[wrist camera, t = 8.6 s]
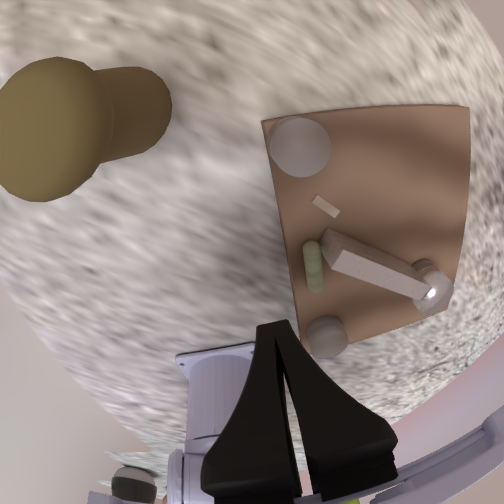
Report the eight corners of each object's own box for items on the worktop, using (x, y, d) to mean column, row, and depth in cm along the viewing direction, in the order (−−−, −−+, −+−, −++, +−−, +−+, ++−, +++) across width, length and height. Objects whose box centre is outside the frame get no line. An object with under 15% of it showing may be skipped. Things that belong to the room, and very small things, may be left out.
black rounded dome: (163, 478, 49) (162, 532, 36) (123, 473, 49) (119, 525, 35) (150, 466, 44) (147, 528, 31) (106, 460, 43) (99, 518, 30)
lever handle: (441, 266, 22) (460, 285, 19) (419, 297, 23) (435, 319, 20) (335, 213, 18) (352, 233, 16) (310, 258, 20) (322, 283, 17)
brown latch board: (440, 300, 26) (456, 321, 23) (299, 344, 27) (307, 372, 24) (456, 104, 16) (486, 110, 13) (258, 119, 17) (266, 124, 14)
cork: (171, 59, 14) (99, 13, 5) (174, 151, 17) (112, 221, 8) (83, 76, 14) (-39, 79, 4) (89, 161, 17) (-17, 235, 7)
